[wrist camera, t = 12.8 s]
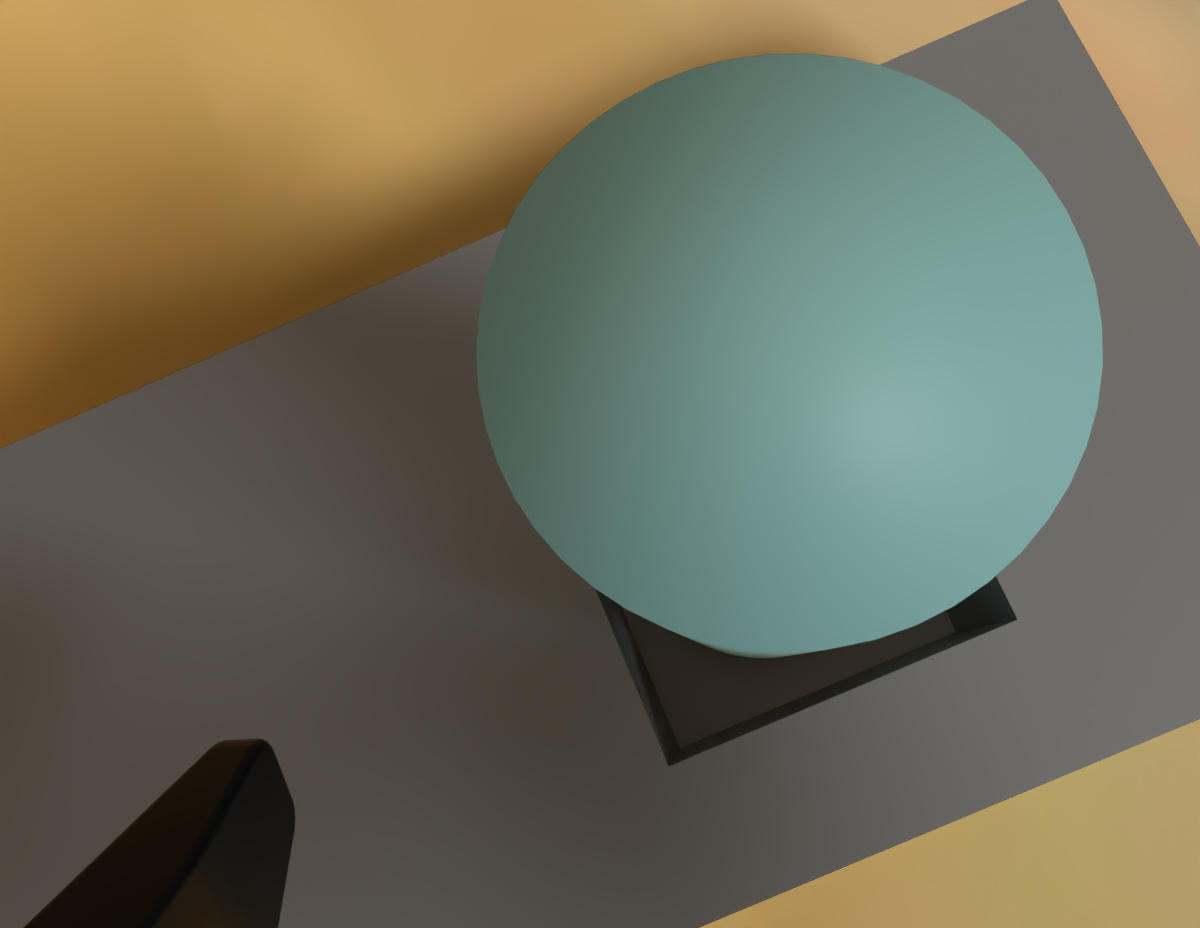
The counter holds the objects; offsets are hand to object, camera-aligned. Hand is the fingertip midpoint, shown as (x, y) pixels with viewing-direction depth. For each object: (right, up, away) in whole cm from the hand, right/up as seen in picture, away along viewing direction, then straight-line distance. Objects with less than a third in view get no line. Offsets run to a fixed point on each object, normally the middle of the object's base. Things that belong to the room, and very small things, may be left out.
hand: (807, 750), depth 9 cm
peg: (+1, +1, +10) cm, 10 cm away
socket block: (-2, 0, +11) cm, 11 cm away
